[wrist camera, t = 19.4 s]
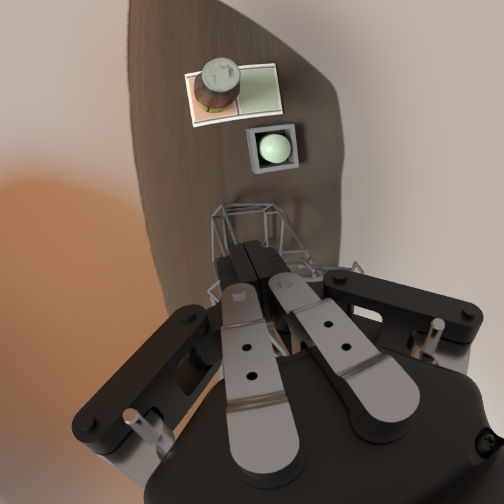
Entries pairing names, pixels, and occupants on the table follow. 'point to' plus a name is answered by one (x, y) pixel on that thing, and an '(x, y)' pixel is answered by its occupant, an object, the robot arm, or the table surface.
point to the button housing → (288, 164)
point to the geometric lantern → (285, 220)
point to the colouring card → (242, 96)
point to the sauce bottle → (217, 85)
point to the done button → (273, 148)
